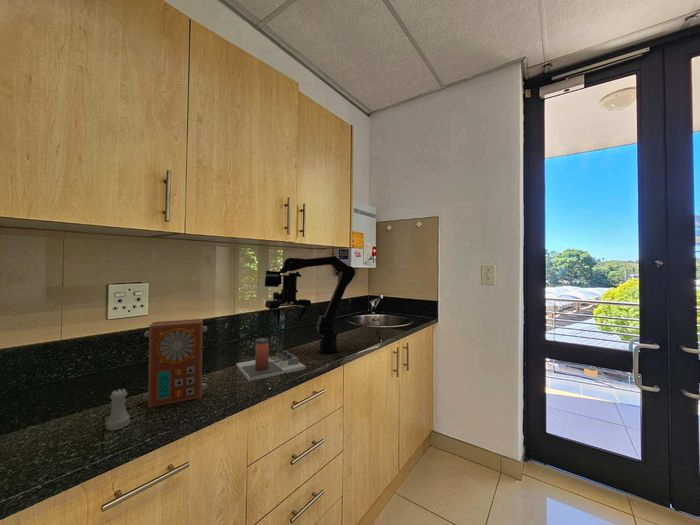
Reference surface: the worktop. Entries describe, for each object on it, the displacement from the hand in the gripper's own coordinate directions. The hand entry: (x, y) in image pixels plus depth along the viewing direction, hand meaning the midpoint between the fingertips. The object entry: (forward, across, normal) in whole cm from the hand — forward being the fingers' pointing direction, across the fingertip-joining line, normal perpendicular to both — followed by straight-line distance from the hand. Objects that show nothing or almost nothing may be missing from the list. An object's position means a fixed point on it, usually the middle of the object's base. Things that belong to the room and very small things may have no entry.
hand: (288, 324), depth 122 cm
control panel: (+14, +42, +19) cm, 49 cm away
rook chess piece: (+15, +55, +28) cm, 63 cm away
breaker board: (+13, +12, +11) cm, 21 cm away
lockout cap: (+12, +16, +14) cm, 24 cm away
